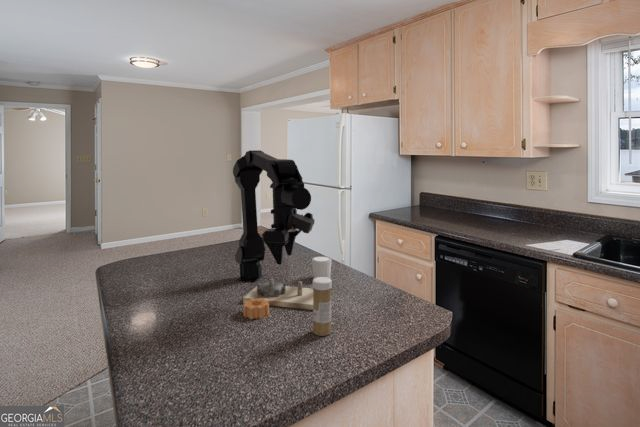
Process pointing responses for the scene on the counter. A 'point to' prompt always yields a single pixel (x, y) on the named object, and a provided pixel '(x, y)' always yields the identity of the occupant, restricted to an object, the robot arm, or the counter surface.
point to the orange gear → (256, 308)
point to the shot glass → (321, 266)
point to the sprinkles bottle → (322, 306)
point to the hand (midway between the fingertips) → (284, 259)
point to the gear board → (283, 295)
